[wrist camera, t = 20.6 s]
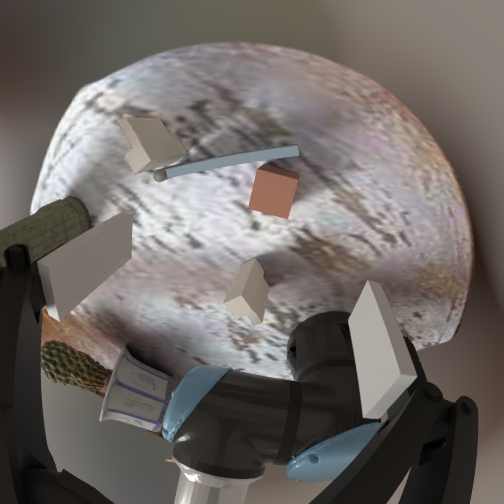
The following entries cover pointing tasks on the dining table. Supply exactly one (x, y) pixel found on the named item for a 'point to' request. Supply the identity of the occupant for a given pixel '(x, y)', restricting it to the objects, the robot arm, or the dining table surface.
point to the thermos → (47, 228)
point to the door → (226, 161)
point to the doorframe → (169, 151)
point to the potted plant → (113, 384)
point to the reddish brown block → (273, 191)
